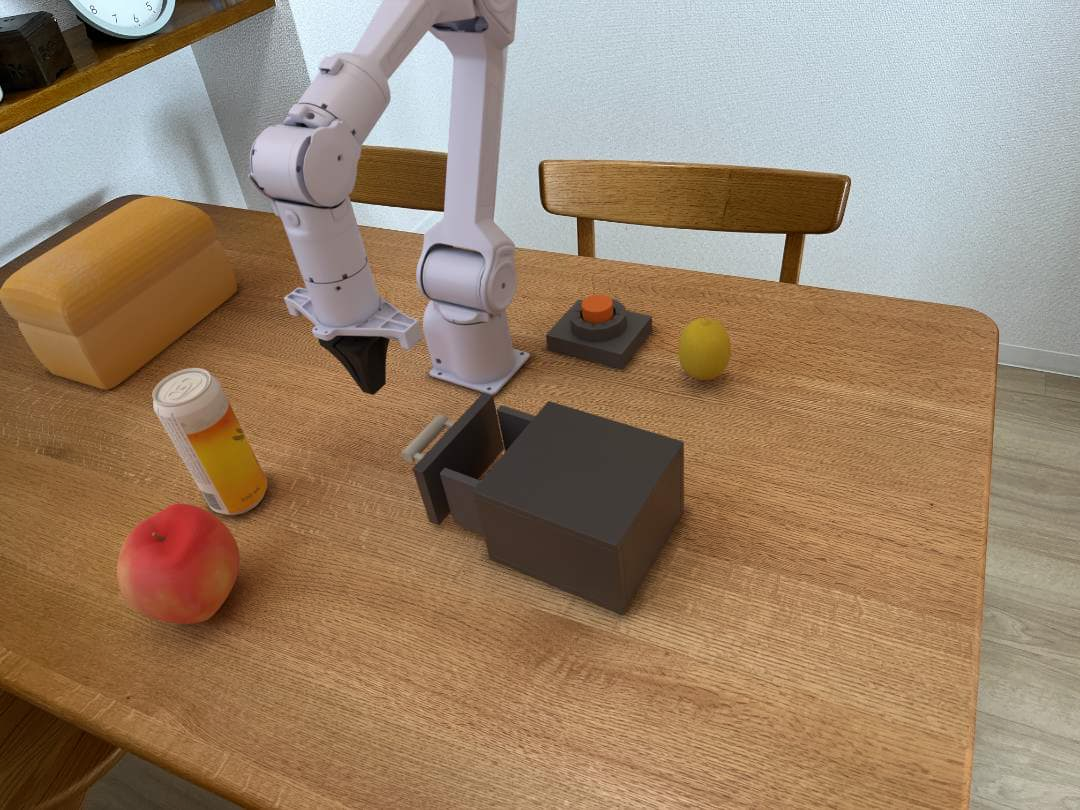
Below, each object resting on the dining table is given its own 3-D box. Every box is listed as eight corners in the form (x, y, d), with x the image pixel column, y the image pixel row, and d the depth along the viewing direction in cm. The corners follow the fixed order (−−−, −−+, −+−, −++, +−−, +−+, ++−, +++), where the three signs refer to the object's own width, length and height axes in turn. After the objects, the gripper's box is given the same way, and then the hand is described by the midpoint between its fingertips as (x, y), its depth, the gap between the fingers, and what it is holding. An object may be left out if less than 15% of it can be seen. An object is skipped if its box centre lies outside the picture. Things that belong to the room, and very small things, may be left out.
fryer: (489, 559, 74) (472, 491, 68) (558, 468, 81) (548, 400, 75) (623, 615, 67) (617, 546, 61) (684, 512, 75) (684, 441, 69)
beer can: (281, 480, 85) (228, 369, 75) (247, 524, 80) (187, 411, 71) (234, 471, 87) (176, 361, 77) (199, 513, 82) (133, 403, 73)
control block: (547, 349, 96) (543, 322, 94) (579, 313, 101) (577, 286, 99) (622, 369, 92) (620, 341, 89) (652, 331, 97) (651, 303, 94)
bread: (111, 393, 100) (48, 291, 91) (44, 373, 106) (-21, 275, 96) (244, 288, 116) (203, 192, 106) (180, 275, 121) (136, 182, 112)
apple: (219, 544, 79) (177, 473, 72) (277, 590, 74) (237, 518, 67) (130, 613, 74) (77, 543, 67) (185, 668, 69) (133, 598, 62)
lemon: (728, 396, 86) (731, 336, 81) (676, 394, 88) (675, 334, 82) (730, 364, 90) (733, 304, 85) (680, 362, 92) (679, 304, 86)
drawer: (395, 508, 79) (376, 454, 74) (462, 434, 85) (448, 381, 81) (541, 568, 71) (530, 513, 66) (601, 482, 78) (596, 427, 73)
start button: (577, 320, 94) (575, 308, 93) (591, 304, 96) (590, 291, 95) (604, 327, 92) (603, 314, 91) (618, 310, 95) (617, 297, 93)
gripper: (242, 273, 70) (292, 393, 79) (368, 308, 63) (407, 434, 72) (298, 234, 74) (340, 352, 83) (422, 263, 67) (453, 387, 76)
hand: (374, 387), depth 78 cm, fingers closed
